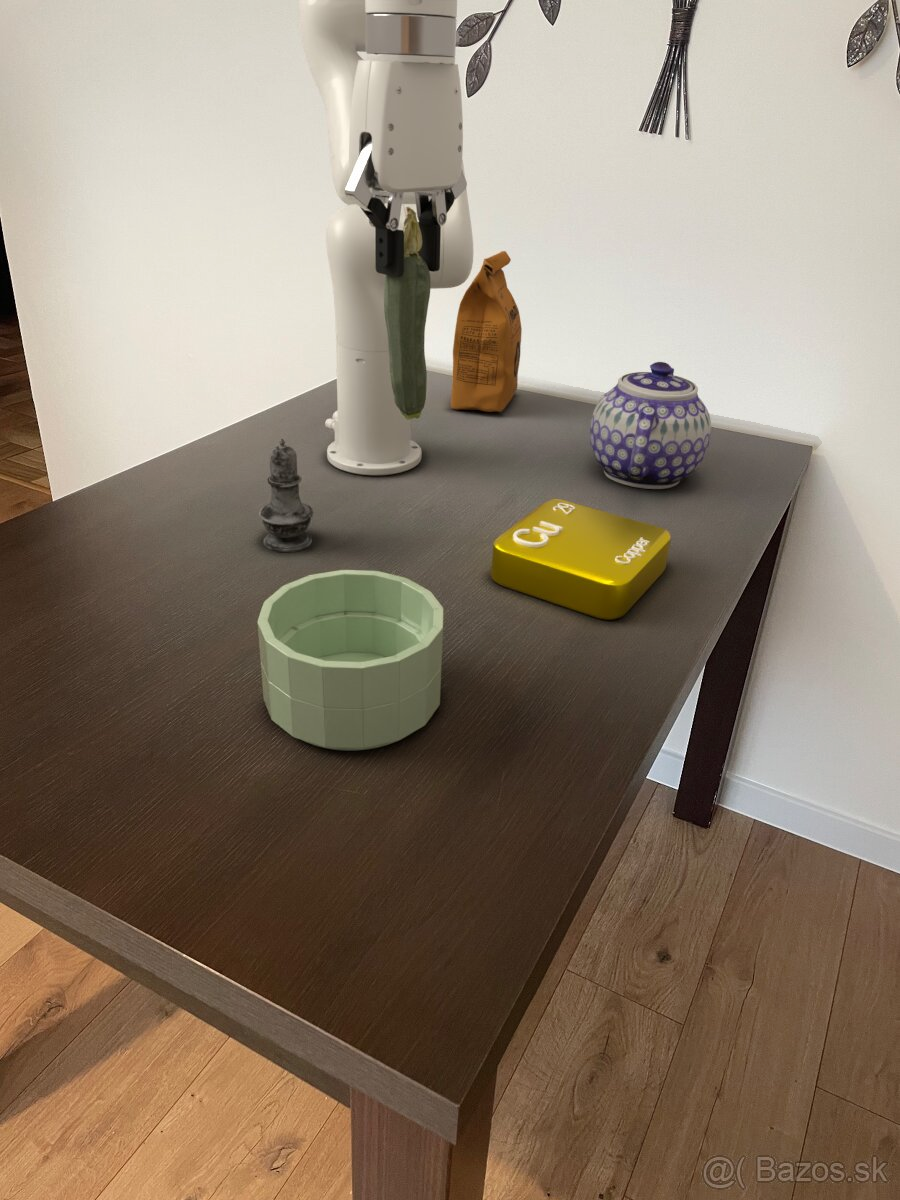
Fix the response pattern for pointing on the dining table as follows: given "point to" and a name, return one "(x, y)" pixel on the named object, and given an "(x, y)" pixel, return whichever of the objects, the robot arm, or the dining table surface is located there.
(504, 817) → the dining table surface
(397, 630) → the bowl
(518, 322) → the coffee package
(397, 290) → the vegetable
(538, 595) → the element tile
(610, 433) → the teapot
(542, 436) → the dining table surface
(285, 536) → the salt shaker
